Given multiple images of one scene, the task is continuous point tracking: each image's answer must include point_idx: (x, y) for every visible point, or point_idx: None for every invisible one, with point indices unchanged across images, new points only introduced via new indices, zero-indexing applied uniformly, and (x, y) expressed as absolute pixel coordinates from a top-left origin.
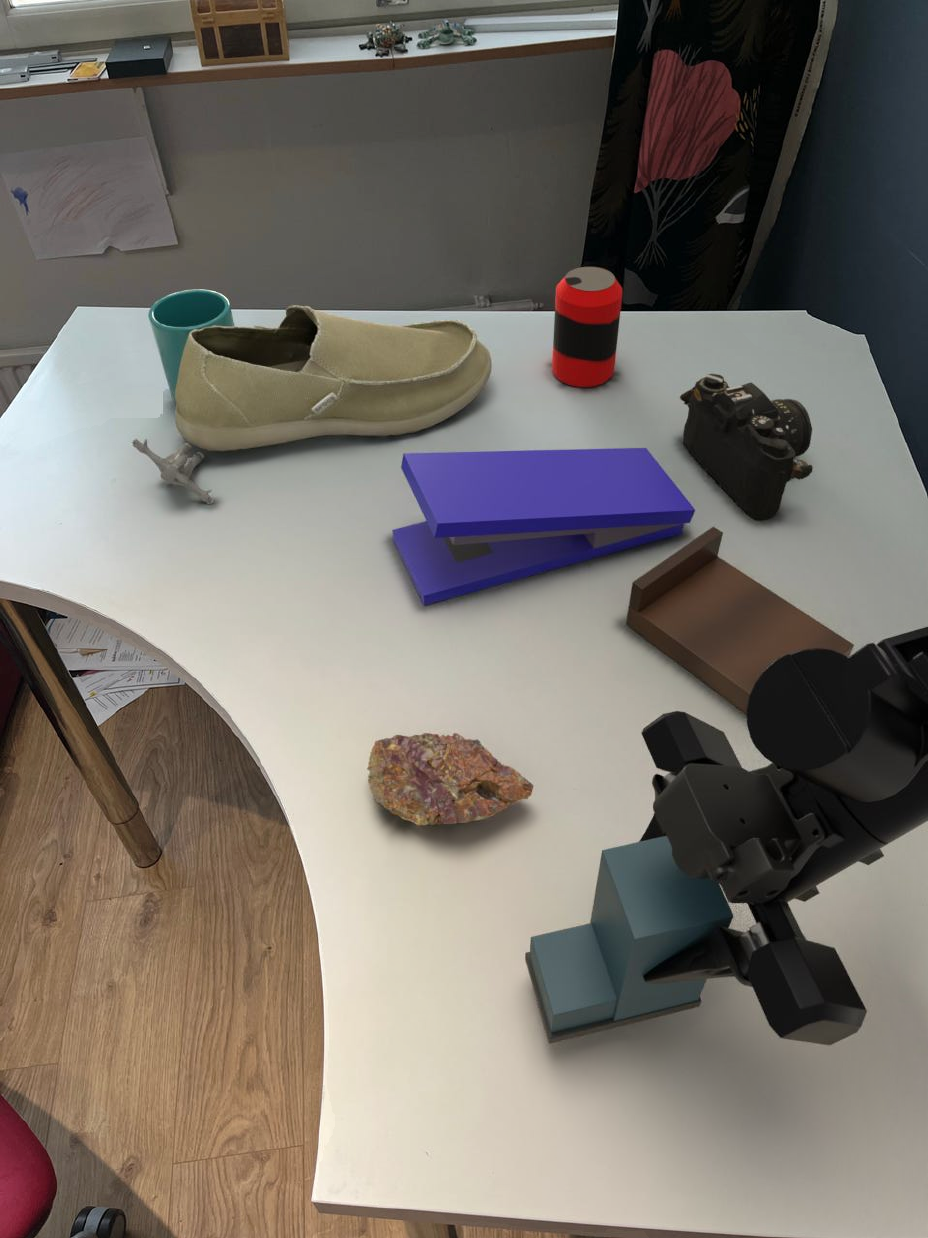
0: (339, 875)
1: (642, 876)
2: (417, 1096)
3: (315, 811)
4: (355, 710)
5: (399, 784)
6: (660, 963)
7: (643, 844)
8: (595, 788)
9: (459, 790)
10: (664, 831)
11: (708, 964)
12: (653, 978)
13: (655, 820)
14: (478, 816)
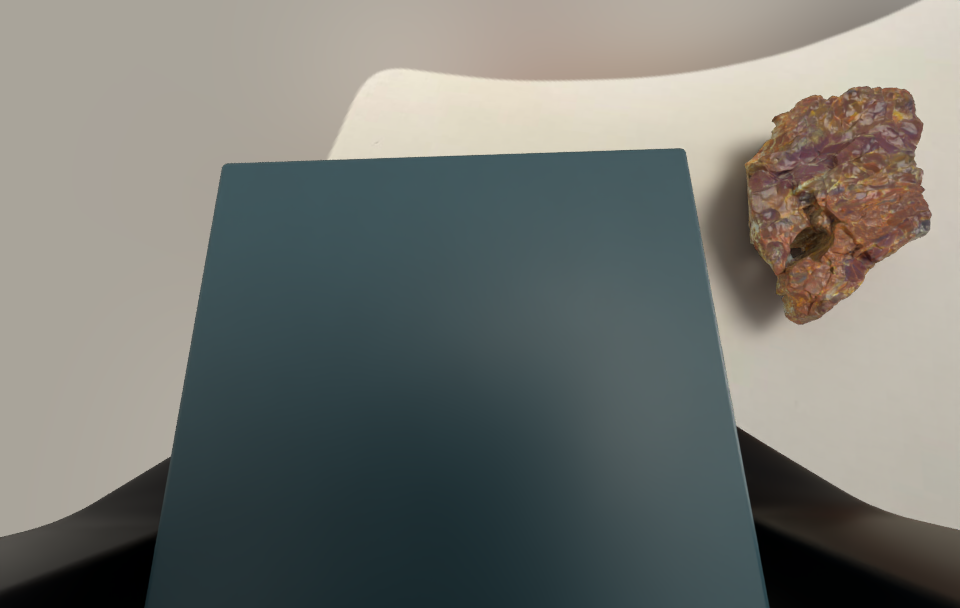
0: (679, 95)
1: (512, 292)
2: (427, 141)
3: (767, 77)
4: (933, 131)
5: (823, 119)
6: None
7: (702, 358)
8: (796, 436)
9: (814, 193)
10: (772, 523)
11: (145, 480)
12: None
13: (830, 499)
14: (760, 224)
